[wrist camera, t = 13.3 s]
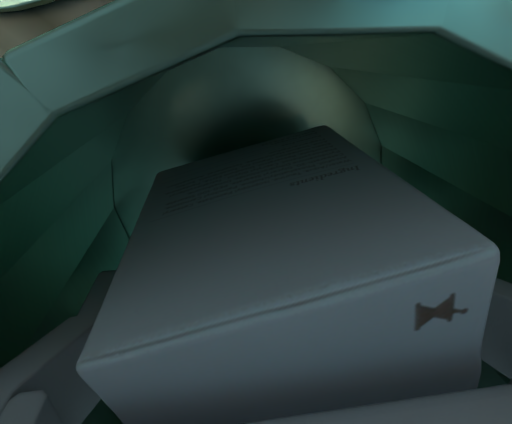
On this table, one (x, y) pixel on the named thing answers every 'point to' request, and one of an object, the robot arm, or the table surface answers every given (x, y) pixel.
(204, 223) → the product box
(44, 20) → the table surface
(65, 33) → the pot
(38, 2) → the lid
